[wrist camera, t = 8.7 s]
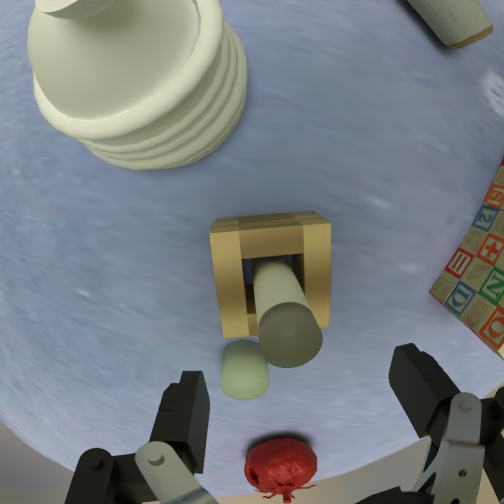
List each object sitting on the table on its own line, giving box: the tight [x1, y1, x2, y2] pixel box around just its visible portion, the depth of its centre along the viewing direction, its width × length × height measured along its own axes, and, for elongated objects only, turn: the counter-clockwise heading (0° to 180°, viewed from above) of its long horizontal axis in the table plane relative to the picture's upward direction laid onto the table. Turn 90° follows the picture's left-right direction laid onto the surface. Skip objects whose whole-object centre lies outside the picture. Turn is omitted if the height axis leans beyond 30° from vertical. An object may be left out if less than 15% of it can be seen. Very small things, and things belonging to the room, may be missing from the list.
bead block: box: [209, 211, 331, 338], centre depth 22 cm, size 8×8×5 cm
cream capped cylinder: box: [251, 255, 323, 368], centre depth 19 cm, size 3×3×12 cm
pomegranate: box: [244, 437, 317, 503], centre depth 28 cm, size 10×10×9 cm
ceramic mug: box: [407, 0, 493, 49], centre depth 13 cm, size 11×8×8 cm
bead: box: [220, 340, 270, 400], centre depth 25 cm, size 4×4×4 cm
